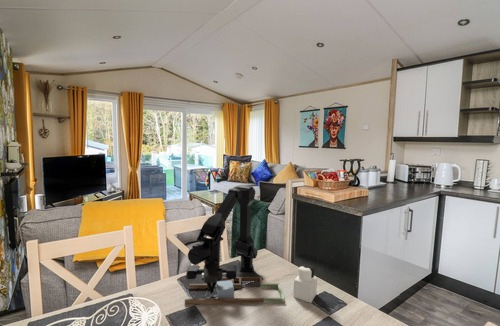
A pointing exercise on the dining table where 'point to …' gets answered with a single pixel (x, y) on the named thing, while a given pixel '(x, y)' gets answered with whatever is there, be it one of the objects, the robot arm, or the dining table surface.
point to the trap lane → (238, 300)
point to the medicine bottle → (305, 283)
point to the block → (225, 289)
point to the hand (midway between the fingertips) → (211, 292)
